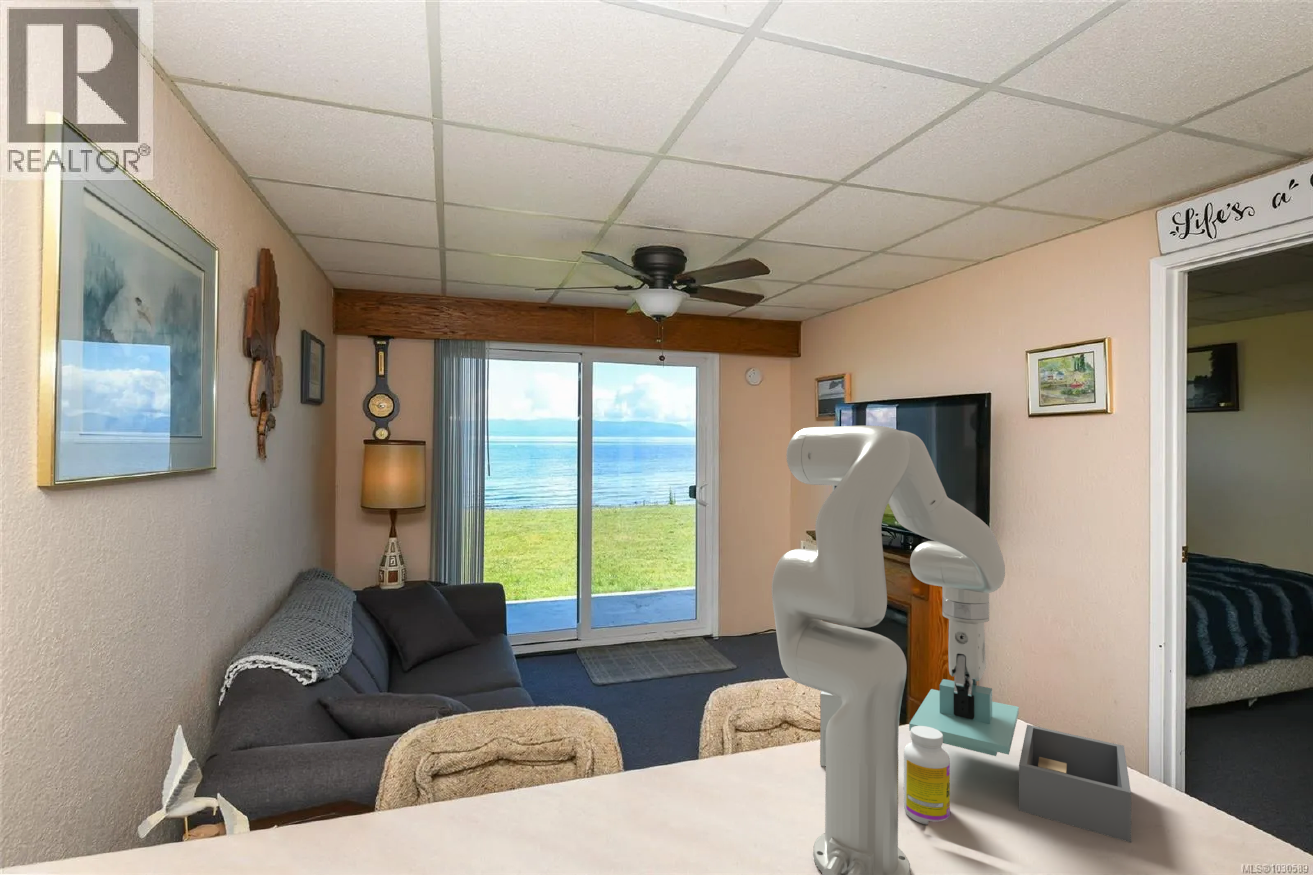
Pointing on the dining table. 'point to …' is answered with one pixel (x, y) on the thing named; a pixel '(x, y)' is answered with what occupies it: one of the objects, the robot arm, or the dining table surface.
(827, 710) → the small box
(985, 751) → the lid
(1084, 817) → the tub
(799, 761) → the dining table surface
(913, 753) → the supplement bottle
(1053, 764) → the pine block
